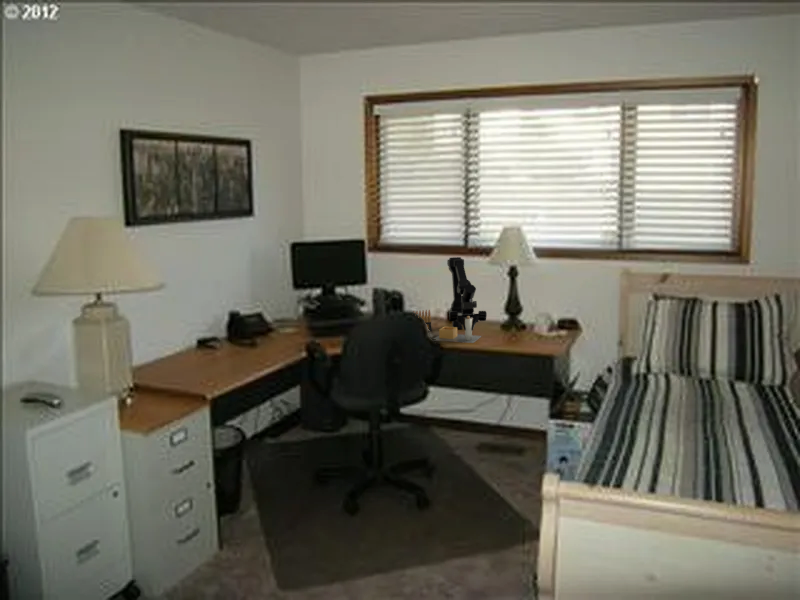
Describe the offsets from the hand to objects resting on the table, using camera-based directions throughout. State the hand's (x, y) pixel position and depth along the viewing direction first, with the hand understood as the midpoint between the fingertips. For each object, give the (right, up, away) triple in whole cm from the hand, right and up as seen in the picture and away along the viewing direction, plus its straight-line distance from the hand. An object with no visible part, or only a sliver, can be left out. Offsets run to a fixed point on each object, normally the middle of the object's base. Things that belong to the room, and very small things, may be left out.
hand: (468, 330), depth 353 cm
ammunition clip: (-23, -2, +29) cm, 37 cm away
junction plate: (-5, -5, +8) cm, 11 cm away
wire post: (0, -5, +2) cm, 6 cm away
